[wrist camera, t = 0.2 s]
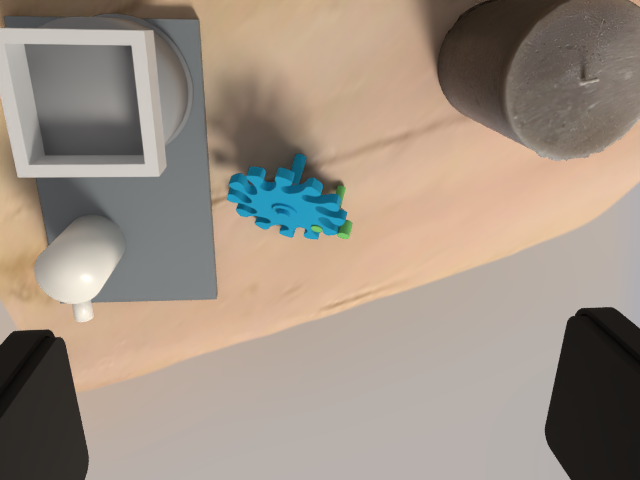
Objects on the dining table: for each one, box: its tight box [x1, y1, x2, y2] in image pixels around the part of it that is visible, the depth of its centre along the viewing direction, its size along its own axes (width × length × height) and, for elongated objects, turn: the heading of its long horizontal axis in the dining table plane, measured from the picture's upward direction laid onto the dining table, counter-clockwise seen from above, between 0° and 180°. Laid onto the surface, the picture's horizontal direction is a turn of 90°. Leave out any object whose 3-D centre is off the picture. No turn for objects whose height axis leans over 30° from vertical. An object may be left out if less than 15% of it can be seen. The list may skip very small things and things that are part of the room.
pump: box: [34, 215, 126, 322], centre depth 43 cm, size 7×5×6 cm
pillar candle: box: [438, 0, 640, 161], centre depth 36 cm, size 10×10×15 cm
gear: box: [227, 154, 352, 239], centre depth 44 cm, size 11×6×10 cm
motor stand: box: [0, 14, 217, 303], centre depth 39 cm, size 24×14×12 cm, turn 179°
